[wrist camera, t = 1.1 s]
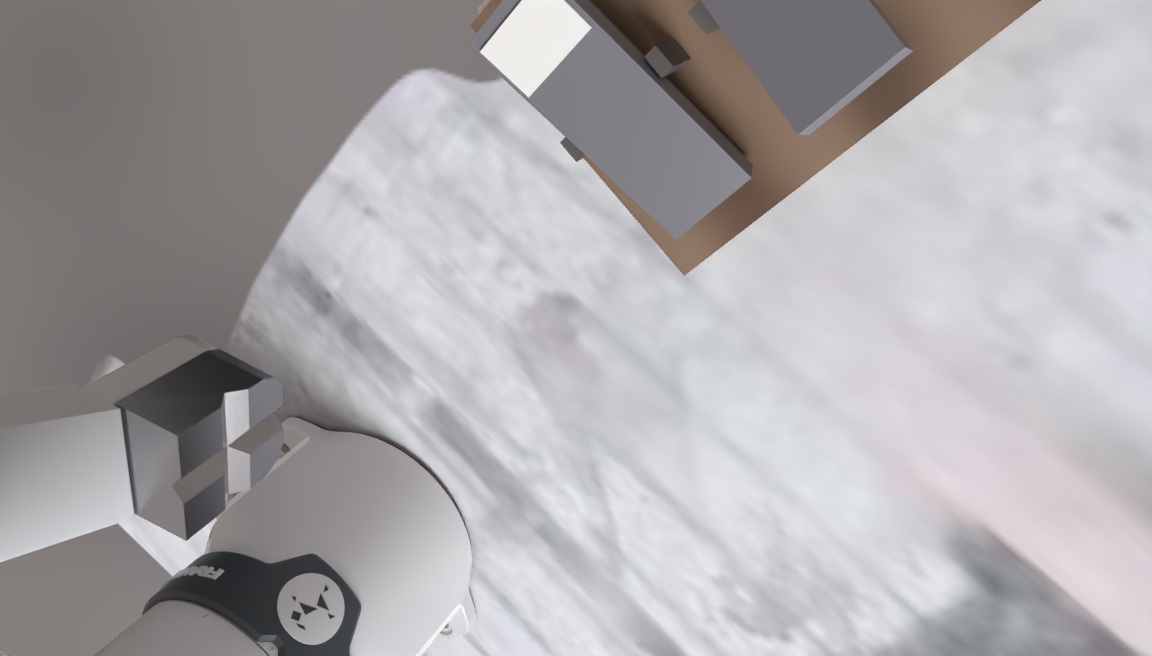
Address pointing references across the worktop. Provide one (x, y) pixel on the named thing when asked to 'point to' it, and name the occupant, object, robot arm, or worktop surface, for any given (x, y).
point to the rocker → (613, 107)
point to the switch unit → (752, 119)
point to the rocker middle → (811, 51)
